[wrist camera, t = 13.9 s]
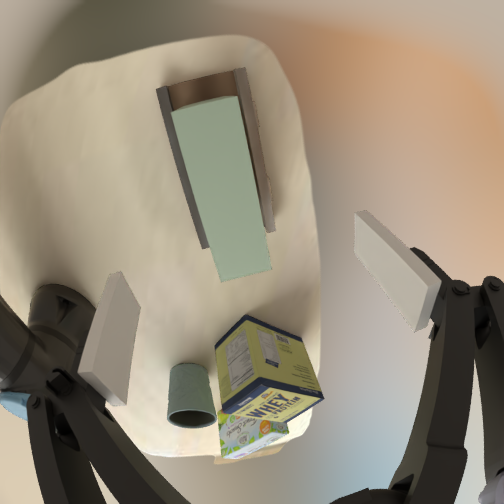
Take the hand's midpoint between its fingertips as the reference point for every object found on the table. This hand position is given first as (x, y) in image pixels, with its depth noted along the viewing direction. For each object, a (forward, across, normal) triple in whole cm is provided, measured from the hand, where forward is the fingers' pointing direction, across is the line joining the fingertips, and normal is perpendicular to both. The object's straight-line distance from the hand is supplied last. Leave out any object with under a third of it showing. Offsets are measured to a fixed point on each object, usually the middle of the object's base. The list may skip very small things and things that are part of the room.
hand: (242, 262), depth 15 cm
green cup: (+25, -18, -43) cm, 53 cm away
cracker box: (+23, 0, 0) cm, 23 cm away
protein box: (+25, -1, -37) cm, 44 cm away
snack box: (+25, -9, -60) cm, 65 cm away
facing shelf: (+24, 0, 0) cm, 24 cm away
